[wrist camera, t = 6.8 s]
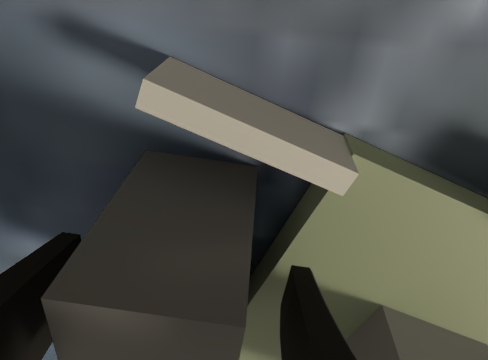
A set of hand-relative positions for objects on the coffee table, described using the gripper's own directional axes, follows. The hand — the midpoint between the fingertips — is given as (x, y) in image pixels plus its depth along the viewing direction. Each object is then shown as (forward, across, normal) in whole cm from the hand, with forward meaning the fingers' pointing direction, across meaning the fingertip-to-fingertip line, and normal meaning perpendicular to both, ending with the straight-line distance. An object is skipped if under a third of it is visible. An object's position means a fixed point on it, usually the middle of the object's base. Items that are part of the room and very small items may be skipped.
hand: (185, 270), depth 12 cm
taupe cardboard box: (+2, 0, 0) cm, 2 cm away
